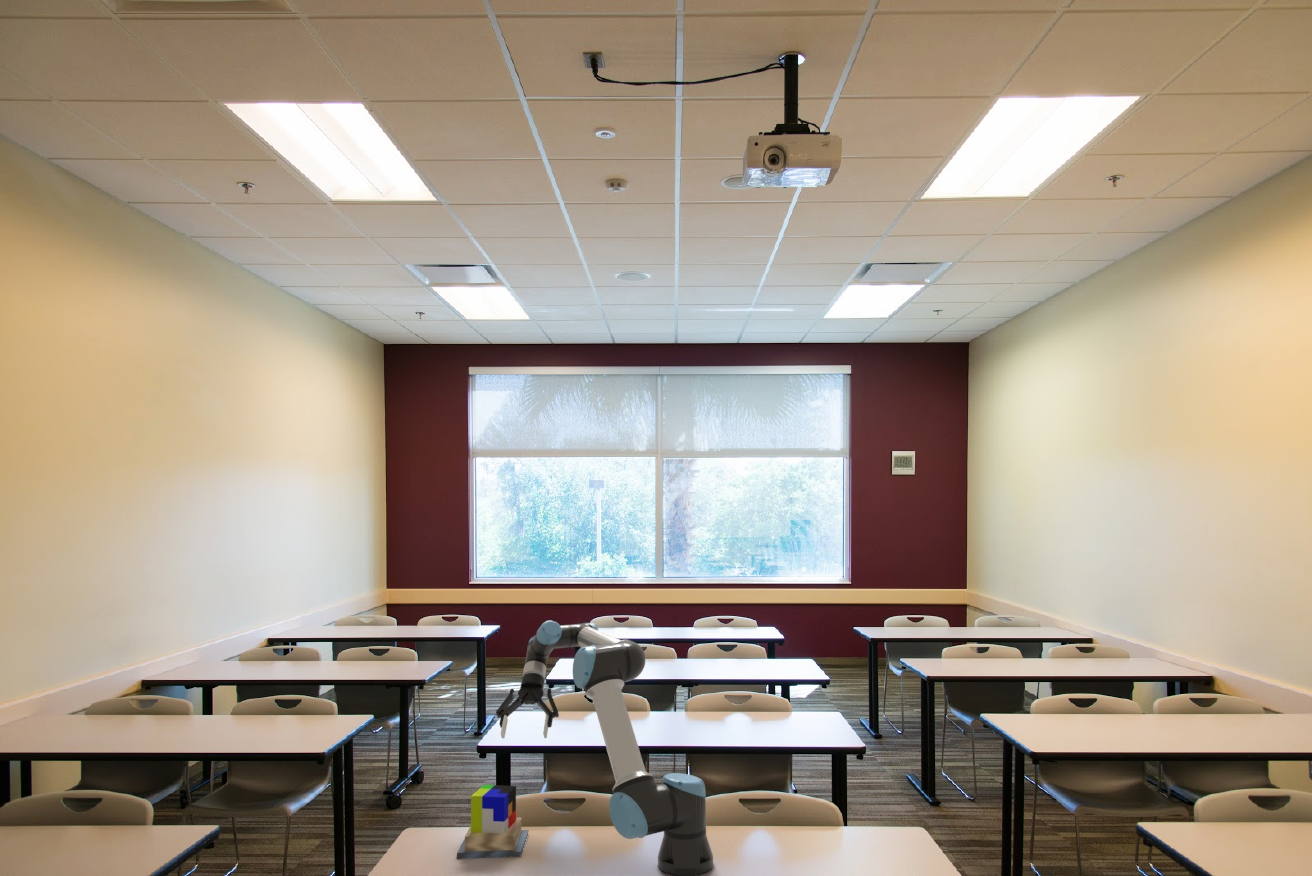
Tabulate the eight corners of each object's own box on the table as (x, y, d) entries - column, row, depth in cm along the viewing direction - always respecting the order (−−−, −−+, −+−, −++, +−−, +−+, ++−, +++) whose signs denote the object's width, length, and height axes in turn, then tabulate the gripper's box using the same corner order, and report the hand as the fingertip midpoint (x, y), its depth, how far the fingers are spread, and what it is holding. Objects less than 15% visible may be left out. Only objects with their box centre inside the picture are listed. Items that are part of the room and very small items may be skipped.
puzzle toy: (504, 833, 228) (504, 797, 229) (470, 832, 230) (471, 796, 231) (515, 821, 238) (516, 786, 239) (483, 819, 240) (484, 784, 241)
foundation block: (528, 835, 242) (528, 816, 242) (520, 857, 226) (520, 836, 226) (468, 836, 241) (468, 817, 242) (456, 858, 225) (456, 838, 226)
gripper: (571, 684, 271) (564, 742, 255) (498, 685, 273) (486, 742, 256) (568, 671, 267) (561, 729, 250) (494, 672, 268) (482, 729, 252)
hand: (523, 736), depth 253 cm, fingers open, 13 cm apart
